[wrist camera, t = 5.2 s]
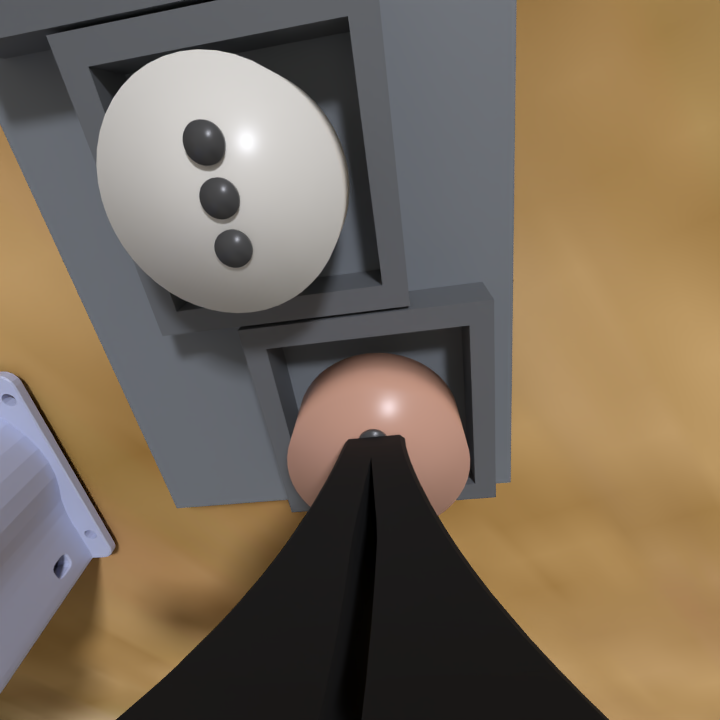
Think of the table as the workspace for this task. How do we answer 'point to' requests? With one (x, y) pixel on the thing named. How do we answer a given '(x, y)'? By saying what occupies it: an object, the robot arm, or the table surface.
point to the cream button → (222, 180)
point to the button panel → (355, 243)
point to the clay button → (380, 423)
